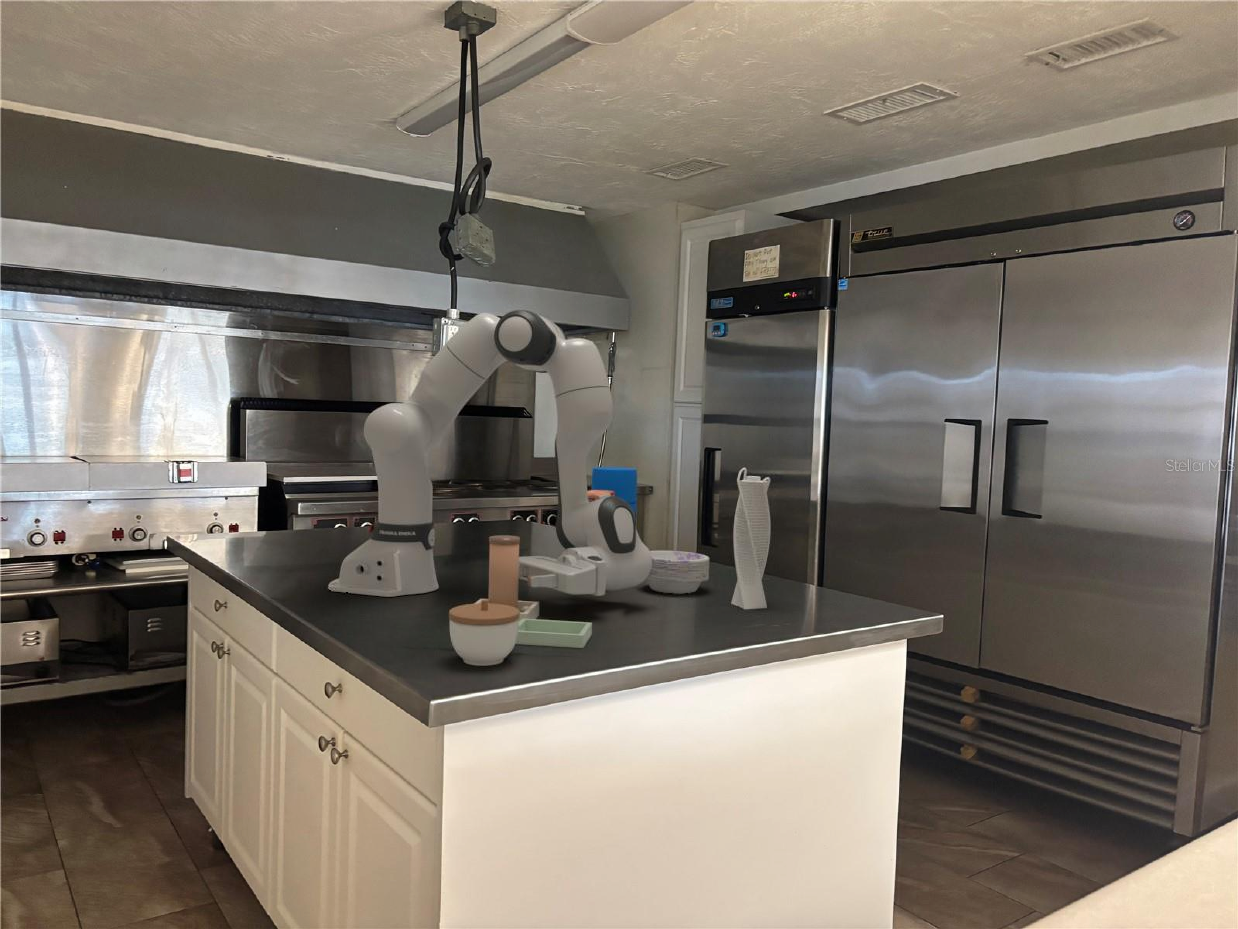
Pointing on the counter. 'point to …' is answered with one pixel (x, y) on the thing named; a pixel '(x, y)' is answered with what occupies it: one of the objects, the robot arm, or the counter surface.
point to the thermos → (617, 483)
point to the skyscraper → (751, 541)
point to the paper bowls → (677, 571)
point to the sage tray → (553, 633)
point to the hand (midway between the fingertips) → (515, 577)
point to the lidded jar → (483, 632)
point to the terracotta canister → (504, 570)
